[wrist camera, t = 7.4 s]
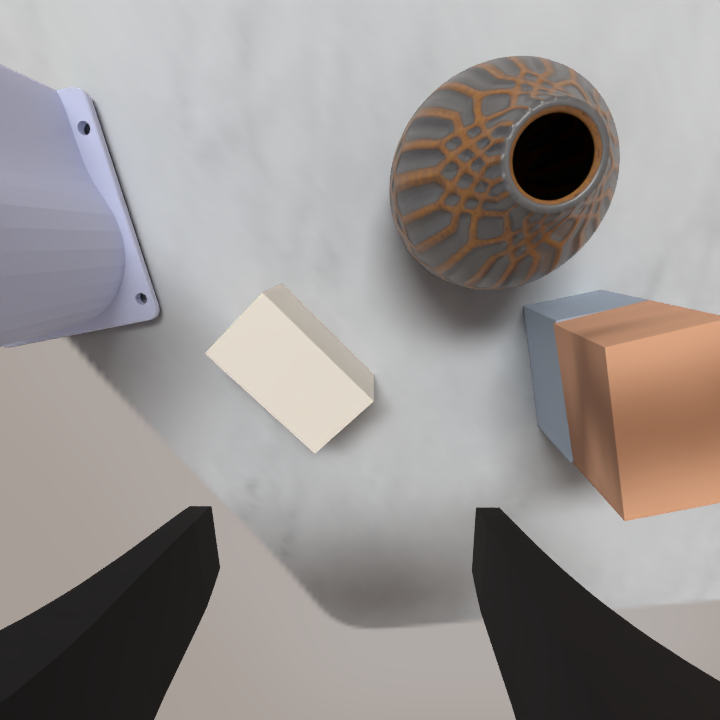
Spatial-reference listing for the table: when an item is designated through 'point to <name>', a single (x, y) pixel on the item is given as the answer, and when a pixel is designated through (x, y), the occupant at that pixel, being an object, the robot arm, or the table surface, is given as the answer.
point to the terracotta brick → (644, 405)
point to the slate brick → (546, 356)
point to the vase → (504, 172)
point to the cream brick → (294, 367)
